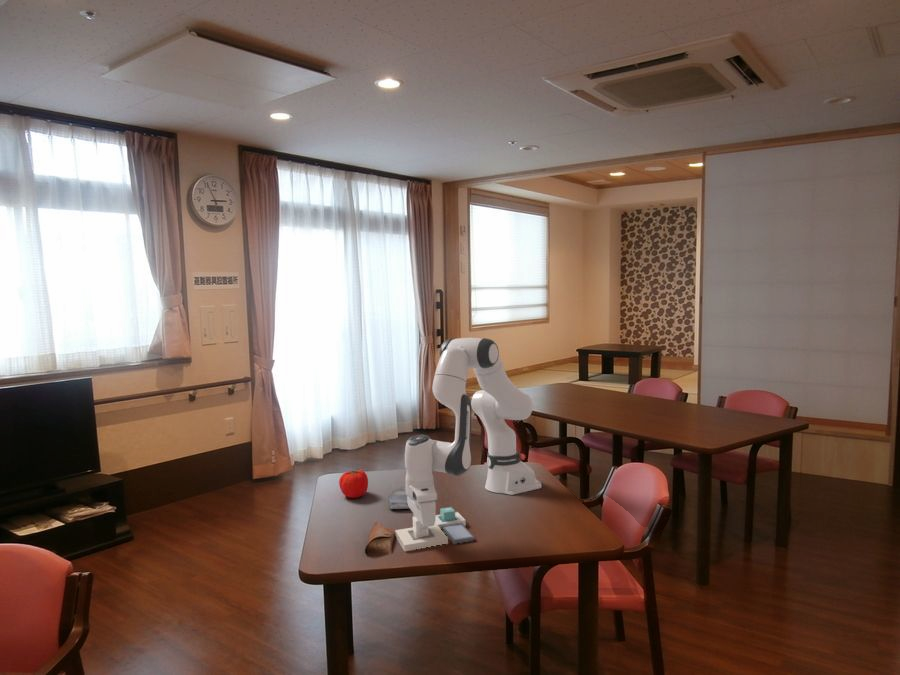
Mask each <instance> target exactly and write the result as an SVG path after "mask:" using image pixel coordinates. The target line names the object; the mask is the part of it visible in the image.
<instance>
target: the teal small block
mask: <svg viewBox="0 0 900 675" xmlns="http://www.w3.org/2000/svg"><path fill="white" fill-rule="evenodd" d="M439 510H440V511H439V512H440V514H439V515H440V519H441V521H442V522H448V521H454V520H455V512H456V511H455V509H454V508H453V507H452V506H449V507H448V506H447V507H442V508H440V509H439Z"/></svg>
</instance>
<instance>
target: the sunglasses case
mask: <svg viewBox="0 0 900 675" xmlns="http://www.w3.org/2000/svg"><path fill="white" fill-rule="evenodd" d="M395 530H396V529H393V528H391V527H389V526H384V525H383V524H380V523H378V522H377V521H376V522H375V523H374V524H373V526H372V529H371V530H370V533H369V536H368V538H367V541H366V544H365V548H364V553H365V555H366V556H383V555H389V556H391V555H392V554H393V545H394V541H395V538H396V537H395Z"/></svg>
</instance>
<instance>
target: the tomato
mask: <svg viewBox="0 0 900 675" xmlns="http://www.w3.org/2000/svg"><path fill="white" fill-rule="evenodd" d="M359 469H360V467H358V468H357V469H356V470H355V469H354V470H350V471H346V472H343V473H342V474H341V475H340V477H339V481H338V484H339V485H338V486H339V488H340V491H341V493H342V494H343V495H344V496H345V497H347V498H349V499H350V498H351V499H356V498H360V497H363V496H365V495H366V493H367V491H368V488H369V479H368V475H367V474H366V472H365V471H364V470H361V469H360V470H359Z"/></svg>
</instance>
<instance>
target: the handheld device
mask: <svg viewBox="0 0 900 675" xmlns="http://www.w3.org/2000/svg"><path fill="white" fill-rule="evenodd" d="M387 504H388V505H387V506H388V509H389V510H406V509H410V508H409V507H408V504H407V494H406V485H404V486H398V487H396V488H394V489H393V491H392V492H391V494H389V495H388V496H387ZM410 510H411V509H410Z"/></svg>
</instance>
